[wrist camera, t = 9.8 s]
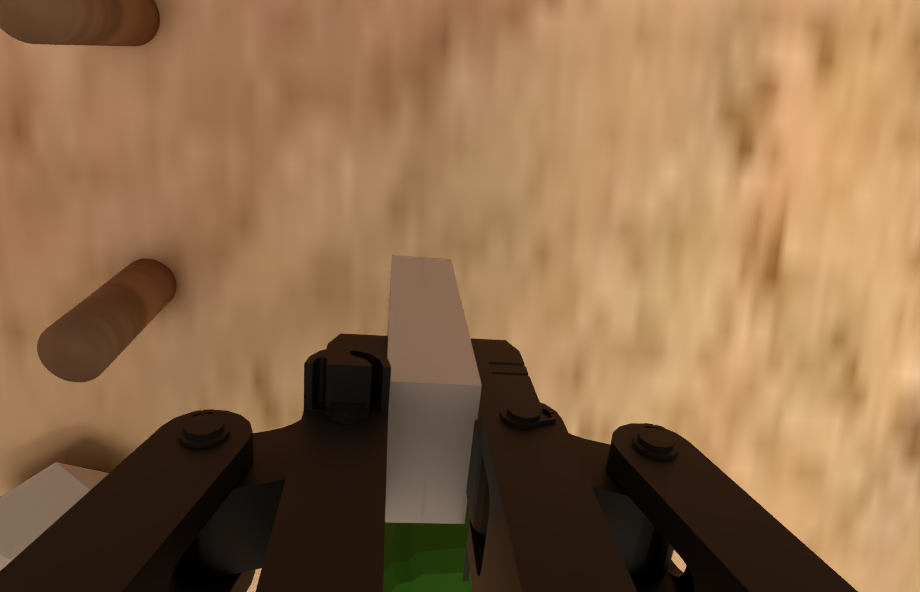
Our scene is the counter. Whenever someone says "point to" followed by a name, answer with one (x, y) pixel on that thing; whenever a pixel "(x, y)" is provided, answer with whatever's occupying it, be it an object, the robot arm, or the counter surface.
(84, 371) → the gate post
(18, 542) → the die
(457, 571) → the bell pepper
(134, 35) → the gate post
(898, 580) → the counter surface
